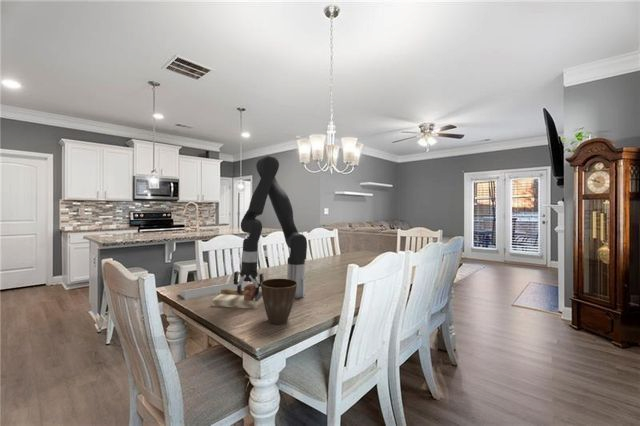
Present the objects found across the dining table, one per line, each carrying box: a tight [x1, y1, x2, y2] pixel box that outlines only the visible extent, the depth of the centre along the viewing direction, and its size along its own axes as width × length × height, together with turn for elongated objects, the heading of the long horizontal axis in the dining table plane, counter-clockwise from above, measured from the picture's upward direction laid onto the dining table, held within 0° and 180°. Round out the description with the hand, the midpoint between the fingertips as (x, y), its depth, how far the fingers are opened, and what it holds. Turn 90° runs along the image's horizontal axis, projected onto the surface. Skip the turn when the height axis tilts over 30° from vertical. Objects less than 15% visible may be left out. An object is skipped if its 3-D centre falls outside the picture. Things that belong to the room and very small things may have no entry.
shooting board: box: [211, 289, 263, 309], centre depth 145 cm, size 21×11×5 cm, turn 85°
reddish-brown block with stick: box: [243, 283, 256, 300], centre depth 142 cm, size 4×12×6 cm, turn 175°
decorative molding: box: [178, 280, 249, 301], centre depth 164 cm, size 34×5×10 cm
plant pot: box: [260, 278, 297, 325], centre depth 124 cm, size 15×15×16 cm
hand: (247, 294), depth 144 cm, fingers open, 8 cm apart
